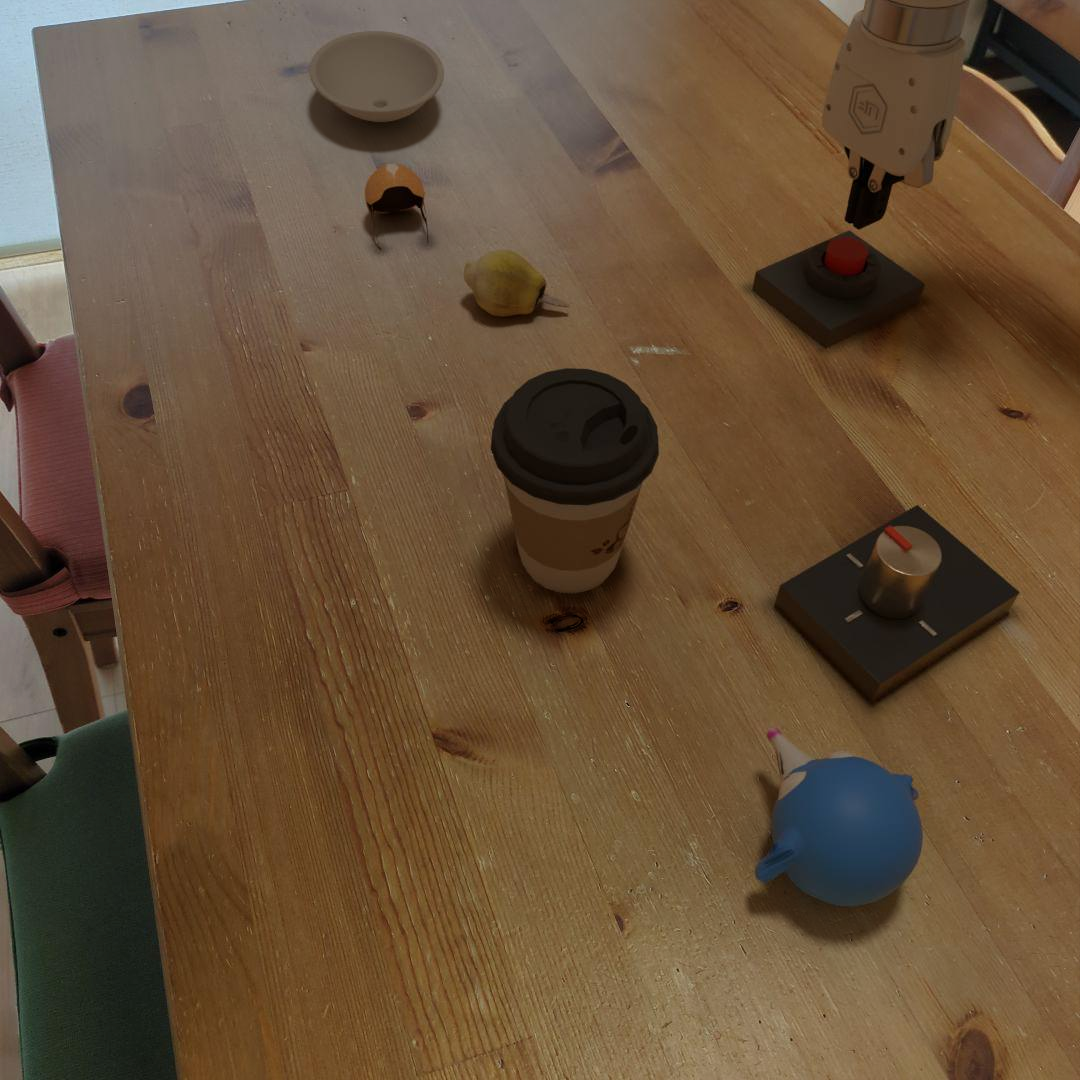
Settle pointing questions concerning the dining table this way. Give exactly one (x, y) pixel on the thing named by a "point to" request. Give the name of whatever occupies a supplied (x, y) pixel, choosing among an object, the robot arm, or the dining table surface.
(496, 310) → the fruit
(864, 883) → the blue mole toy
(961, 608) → the dial panel
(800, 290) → the button box
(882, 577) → the dial knob
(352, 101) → the dish
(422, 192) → the helmet
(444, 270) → the dining table surface
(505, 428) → the coffee cup
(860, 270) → the button
